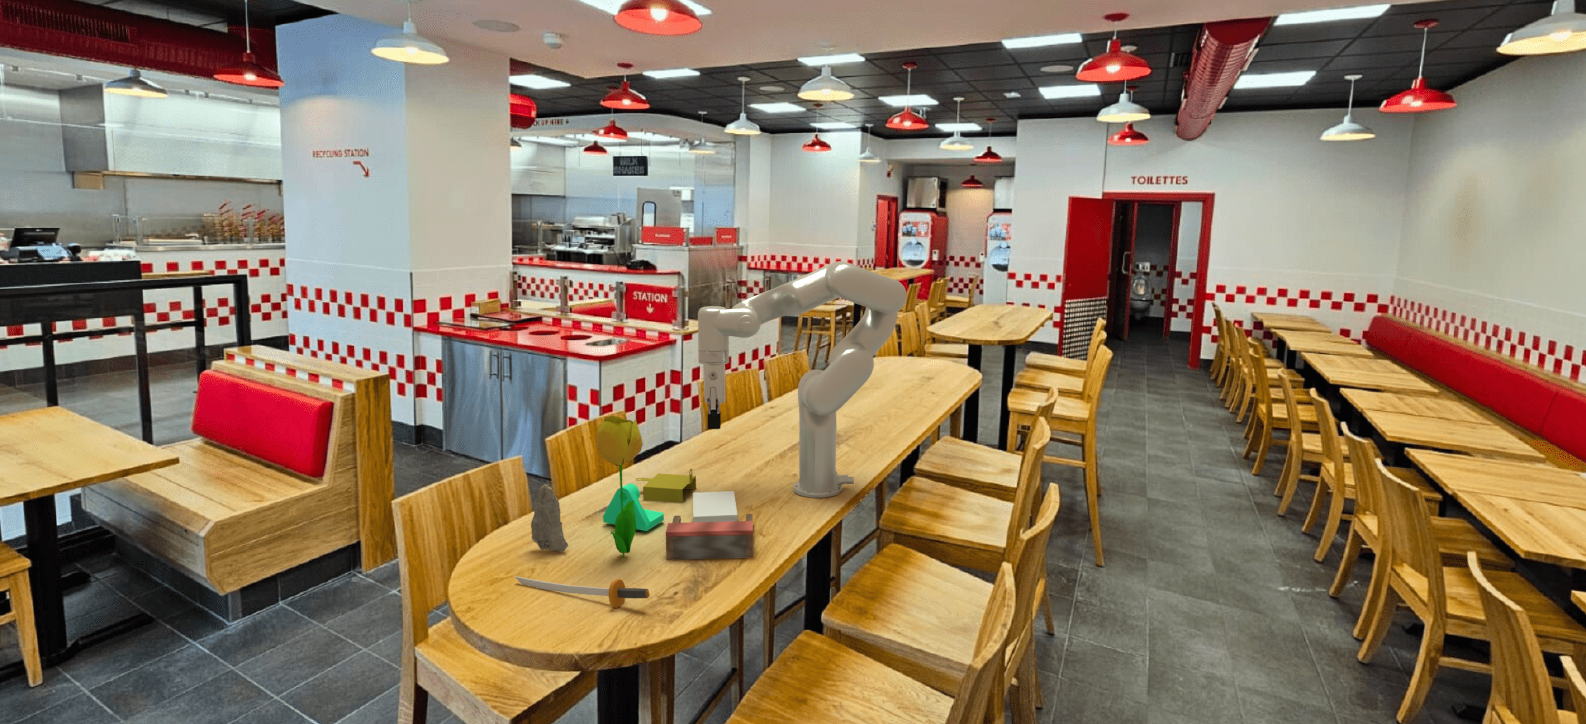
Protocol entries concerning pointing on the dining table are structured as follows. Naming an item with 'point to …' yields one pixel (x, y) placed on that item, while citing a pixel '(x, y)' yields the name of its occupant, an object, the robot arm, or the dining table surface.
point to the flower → (620, 469)
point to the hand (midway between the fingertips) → (714, 428)
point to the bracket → (667, 487)
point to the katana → (592, 590)
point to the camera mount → (642, 516)
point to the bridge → (709, 539)
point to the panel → (714, 507)
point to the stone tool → (547, 521)
